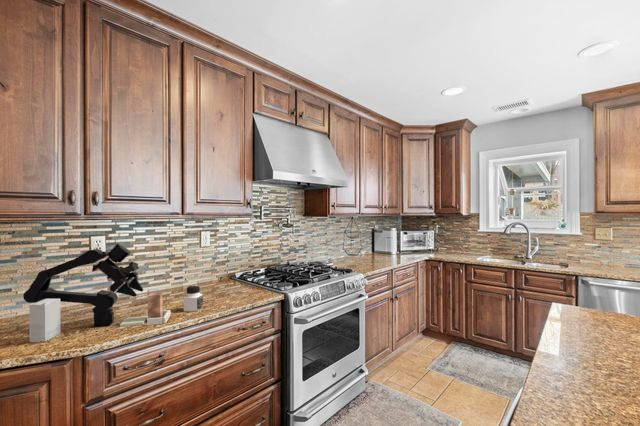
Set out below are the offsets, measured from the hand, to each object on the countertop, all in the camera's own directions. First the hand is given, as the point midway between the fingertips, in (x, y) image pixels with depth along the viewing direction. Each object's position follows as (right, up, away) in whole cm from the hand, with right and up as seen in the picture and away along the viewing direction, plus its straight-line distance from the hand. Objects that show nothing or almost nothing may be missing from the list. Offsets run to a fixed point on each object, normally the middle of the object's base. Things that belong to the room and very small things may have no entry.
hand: (139, 293), depth 140 cm
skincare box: (-26, -13, -19) cm, 35 cm away
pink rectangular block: (+7, -13, +1) cm, 14 cm away
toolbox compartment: (+8, -13, +2) cm, 15 cm away
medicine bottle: (+18, -13, +17) cm, 28 cm away
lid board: (-2, -13, -1) cm, 13 cm away
